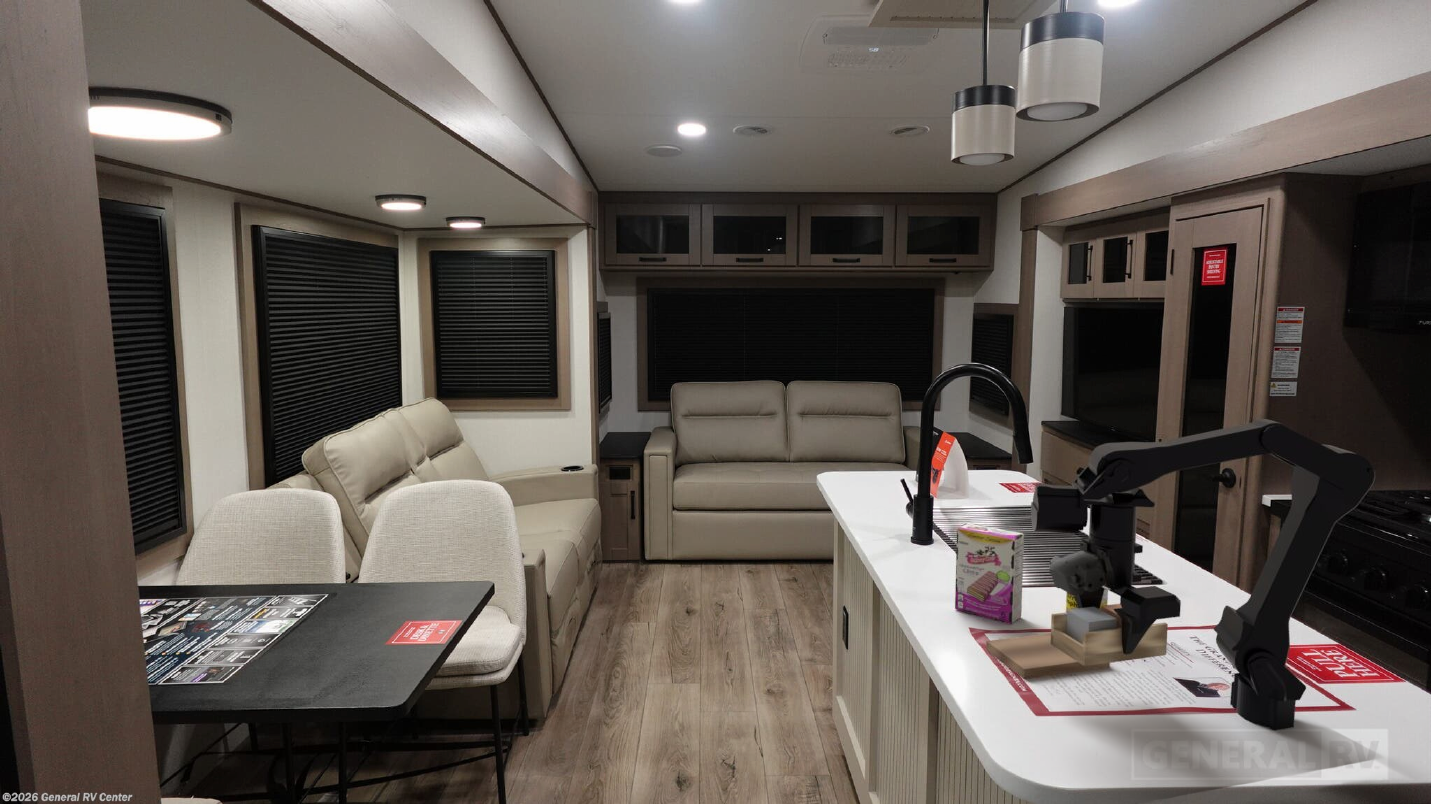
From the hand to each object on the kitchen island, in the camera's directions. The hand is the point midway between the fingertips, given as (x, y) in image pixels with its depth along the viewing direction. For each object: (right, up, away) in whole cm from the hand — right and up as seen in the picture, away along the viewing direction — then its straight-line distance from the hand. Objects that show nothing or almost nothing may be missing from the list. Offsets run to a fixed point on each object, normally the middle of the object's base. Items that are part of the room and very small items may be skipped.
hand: (1107, 642), depth 103 cm
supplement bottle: (+12, -7, +29) cm, 32 cm away
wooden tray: (0, -1, 0) cm, 1 cm away
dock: (-3, -9, +14) cm, 16 cm away
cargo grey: (-3, 0, -1) cm, 3 cm away
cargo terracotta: (+3, +1, 0) cm, 3 cm away
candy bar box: (-4, -6, +35) cm, 36 cm away
